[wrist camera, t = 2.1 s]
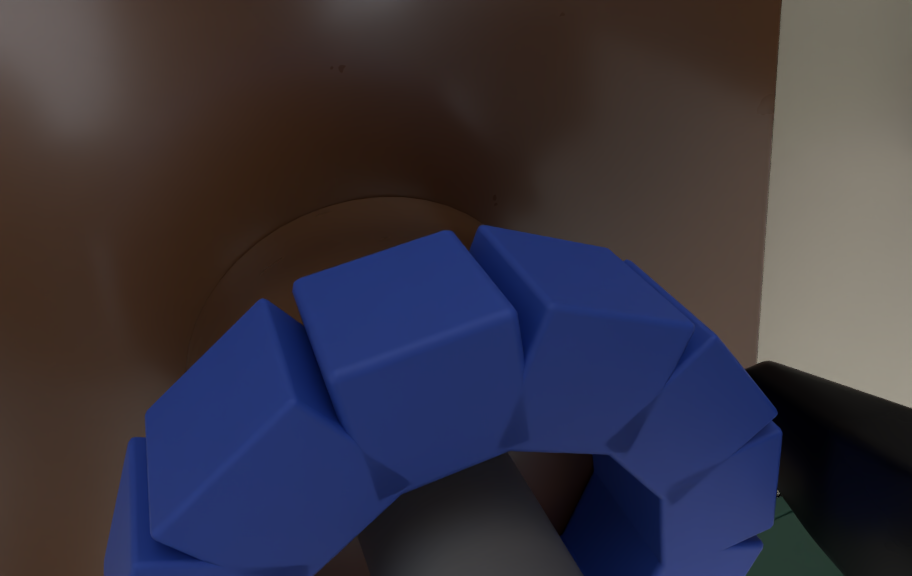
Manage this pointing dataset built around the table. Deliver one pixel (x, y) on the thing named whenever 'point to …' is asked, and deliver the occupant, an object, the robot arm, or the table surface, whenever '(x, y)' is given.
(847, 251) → the table surface
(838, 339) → the table surface
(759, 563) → the tray
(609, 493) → the ring
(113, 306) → the platform
